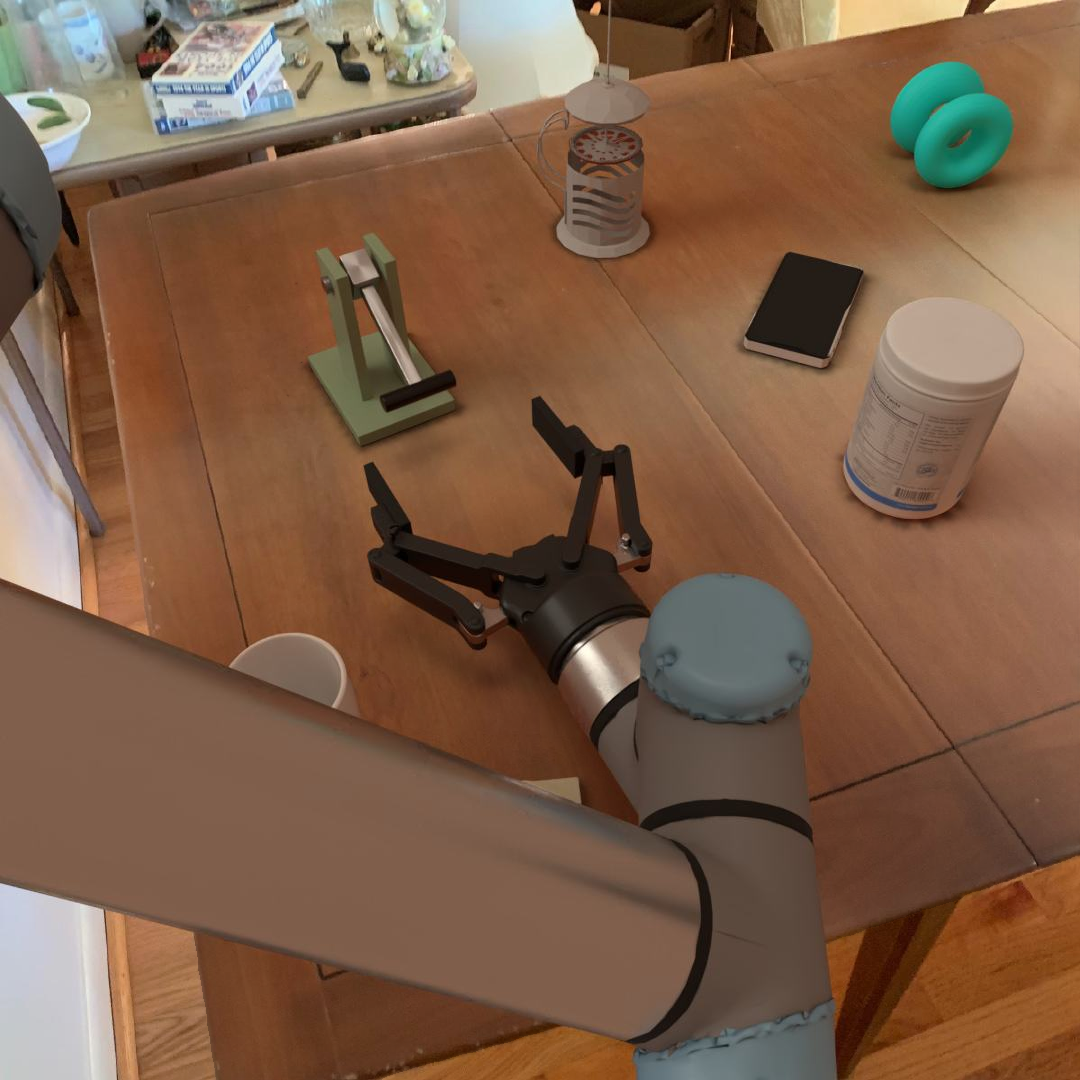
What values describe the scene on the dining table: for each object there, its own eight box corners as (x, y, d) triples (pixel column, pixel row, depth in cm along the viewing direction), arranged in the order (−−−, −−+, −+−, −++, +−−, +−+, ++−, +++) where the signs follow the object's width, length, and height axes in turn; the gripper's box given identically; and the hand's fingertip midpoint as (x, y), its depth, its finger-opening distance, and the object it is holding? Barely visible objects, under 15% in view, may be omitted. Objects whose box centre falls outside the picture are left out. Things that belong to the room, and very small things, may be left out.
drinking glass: (384, 749, 64) (345, 621, 53) (392, 847, 60) (351, 731, 49) (281, 766, 64) (218, 640, 52) (282, 866, 60) (213, 754, 48)
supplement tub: (901, 422, 83) (954, 277, 71) (987, 492, 78) (1060, 347, 66) (814, 468, 80) (855, 323, 68) (899, 543, 74) (958, 401, 63)
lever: (455, 392, 78) (458, 378, 75) (386, 418, 76) (387, 405, 74) (385, 256, 80) (386, 240, 78) (317, 279, 78) (316, 263, 76)
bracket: (456, 409, 85) (440, 276, 74) (360, 447, 82) (329, 314, 72) (399, 333, 92) (378, 202, 81) (310, 366, 89) (274, 234, 78)
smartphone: (866, 268, 95) (829, 360, 86) (863, 279, 96) (826, 371, 87) (785, 250, 97) (741, 338, 88) (783, 260, 98) (739, 348, 89)
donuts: (960, 141, 111) (990, 52, 104) (998, 188, 105) (1033, 98, 97) (876, 149, 111) (899, 60, 103) (909, 197, 104) (936, 106, 97)
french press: (645, 262, 98) (664, -2, 79) (531, 252, 99) (522, -9, 80) (654, 207, 104) (674, -50, 85) (547, 199, 106) (542, -55, 86)
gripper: (429, 772, 60) (307, 539, 71) (758, 606, 67) (598, 420, 79) (414, 711, 54) (284, 469, 66) (777, 537, 61) (601, 347, 73)
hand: (455, 442), depth 72 cm, fingers open, 13 cm apart
